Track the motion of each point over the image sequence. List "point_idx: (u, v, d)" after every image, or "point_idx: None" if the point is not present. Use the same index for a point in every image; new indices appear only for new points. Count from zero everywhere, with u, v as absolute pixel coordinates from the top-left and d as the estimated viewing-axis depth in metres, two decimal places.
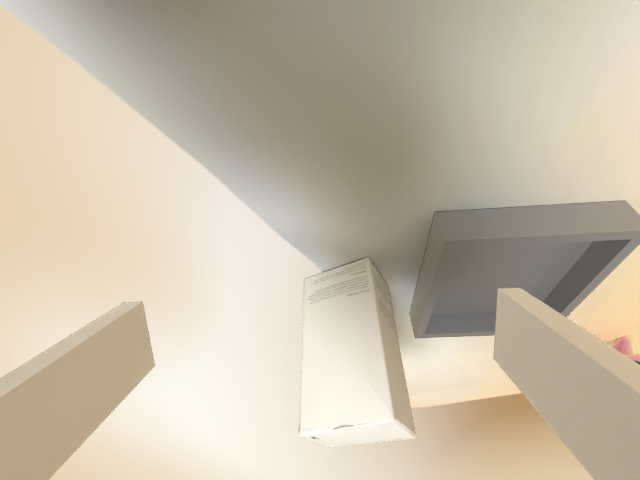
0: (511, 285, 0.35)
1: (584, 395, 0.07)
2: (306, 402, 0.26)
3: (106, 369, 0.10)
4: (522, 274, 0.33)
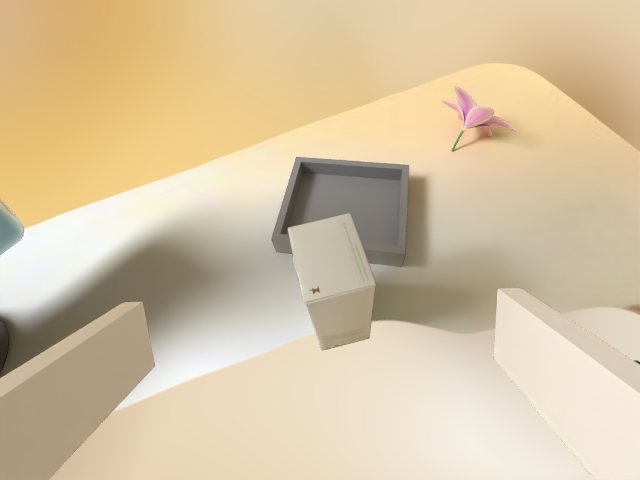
0: (358, 201, 0.49)
1: (584, 395, 0.07)
2: None
3: (106, 369, 0.10)
4: (346, 197, 0.50)
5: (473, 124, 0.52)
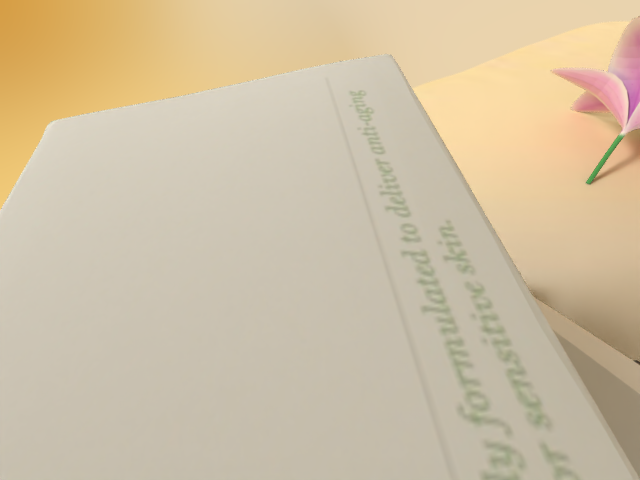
0: None
1: None
2: None
3: None
4: None
5: None
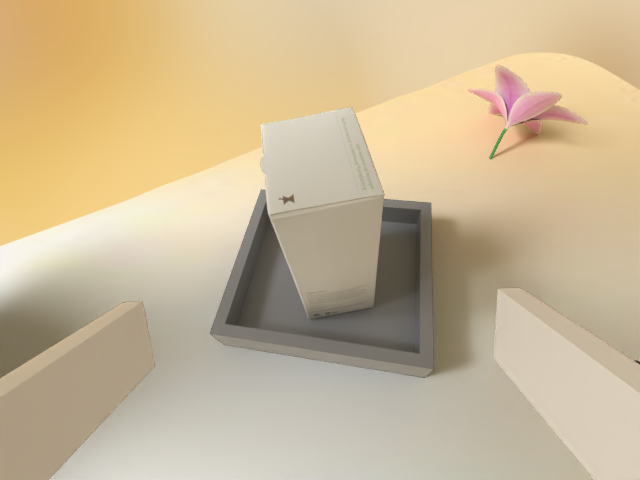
0: None
1: (584, 395, 0.07)
2: None
3: (106, 369, 0.10)
4: None
5: (521, 119, 0.36)
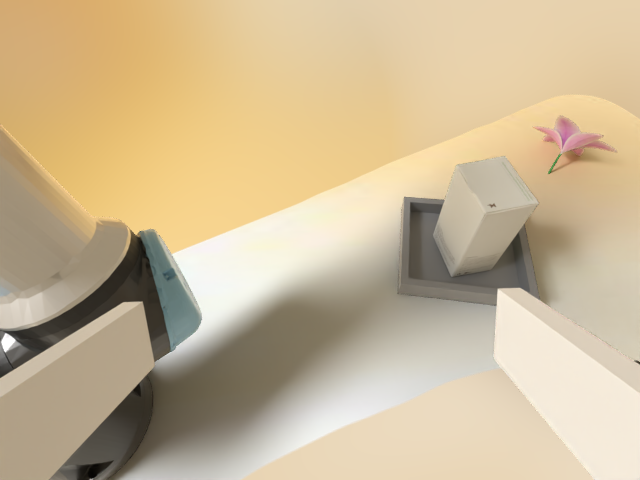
0: None
1: (584, 395, 0.07)
2: (475, 220, 0.37)
3: (106, 369, 0.10)
4: None
5: (572, 148, 0.55)
